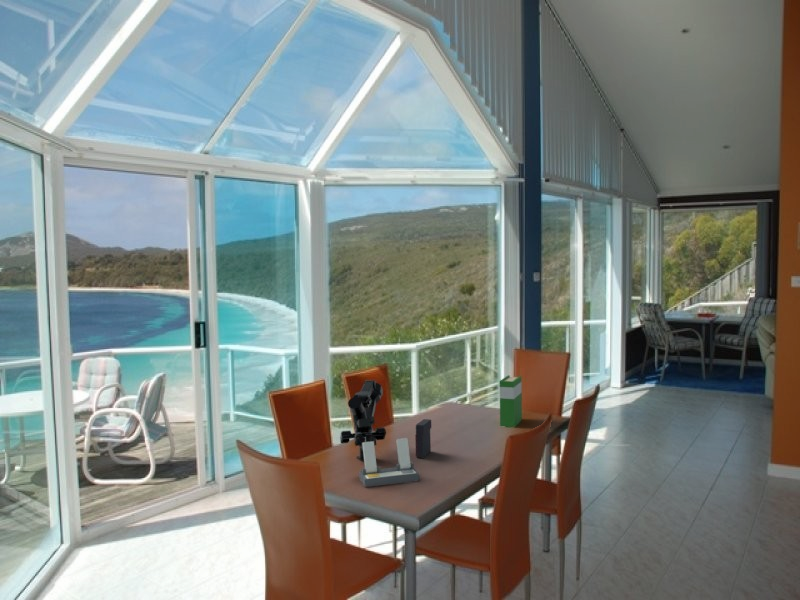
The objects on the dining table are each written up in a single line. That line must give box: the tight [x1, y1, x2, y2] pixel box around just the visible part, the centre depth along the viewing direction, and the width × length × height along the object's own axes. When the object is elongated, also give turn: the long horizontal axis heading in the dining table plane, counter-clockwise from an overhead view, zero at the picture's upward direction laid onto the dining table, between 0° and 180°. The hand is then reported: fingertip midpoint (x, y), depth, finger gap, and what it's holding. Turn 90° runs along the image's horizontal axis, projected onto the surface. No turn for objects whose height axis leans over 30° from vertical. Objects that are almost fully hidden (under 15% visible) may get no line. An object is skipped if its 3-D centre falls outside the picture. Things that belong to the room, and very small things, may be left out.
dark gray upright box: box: [414, 418, 432, 459], centre depth 284 cm, size 11×4×15 cm, turn 159°
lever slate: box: [395, 437, 411, 469], centre depth 257 cm, size 2×4×12 cm, turn 105°
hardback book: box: [499, 374, 523, 428], centre depth 336 cm, size 18×7×24 cm, turn 156°
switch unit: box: [358, 461, 420, 488], centre depth 252 cm, size 10×22×5 cm, turn 106°
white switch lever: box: [362, 441, 378, 473], centre depth 253 cm, size 2×4×12 cm, turn 105°
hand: (366, 453), depth 258 cm, fingers closed
